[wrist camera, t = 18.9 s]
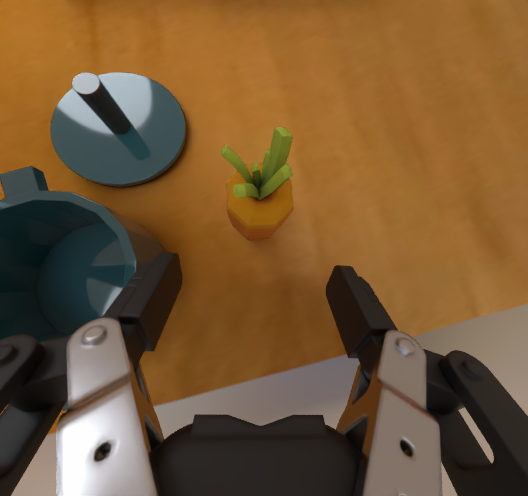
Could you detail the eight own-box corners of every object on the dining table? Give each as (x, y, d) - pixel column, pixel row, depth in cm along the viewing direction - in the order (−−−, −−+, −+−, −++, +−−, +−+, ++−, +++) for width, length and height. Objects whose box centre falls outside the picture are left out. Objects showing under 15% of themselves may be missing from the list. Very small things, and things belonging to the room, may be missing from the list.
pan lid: (79, 206, 22) (17, 178, 16) (45, 98, 24) (-24, 35, 18) (204, 166, 24) (191, 129, 18) (165, 70, 26) (141, 6, 20)
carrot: (243, 259, 23) (241, 222, 8) (225, 221, 23) (193, 123, 9) (280, 241, 24) (340, 179, 9) (263, 205, 24) (291, 90, 9)
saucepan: (59, 397, 19) (-45, 464, 12) (12, 221, 21) (-100, 193, 14) (195, 336, 21) (171, 364, 14) (140, 181, 23) (96, 140, 16)
